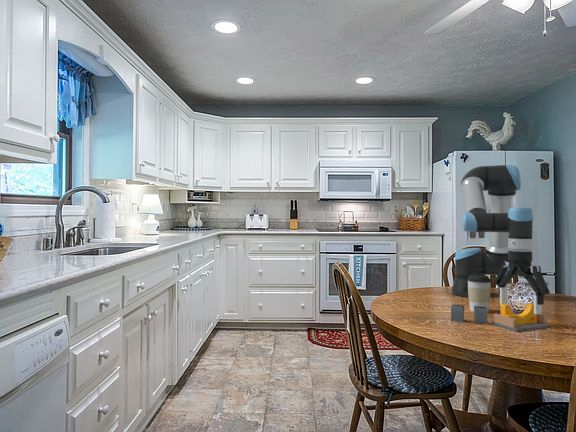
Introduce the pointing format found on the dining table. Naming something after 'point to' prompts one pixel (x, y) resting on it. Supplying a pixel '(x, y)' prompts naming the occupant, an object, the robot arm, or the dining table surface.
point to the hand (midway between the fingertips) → (519, 309)
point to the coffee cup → (479, 291)
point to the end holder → (511, 325)
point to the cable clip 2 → (480, 314)
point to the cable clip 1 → (457, 313)
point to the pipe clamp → (522, 318)
